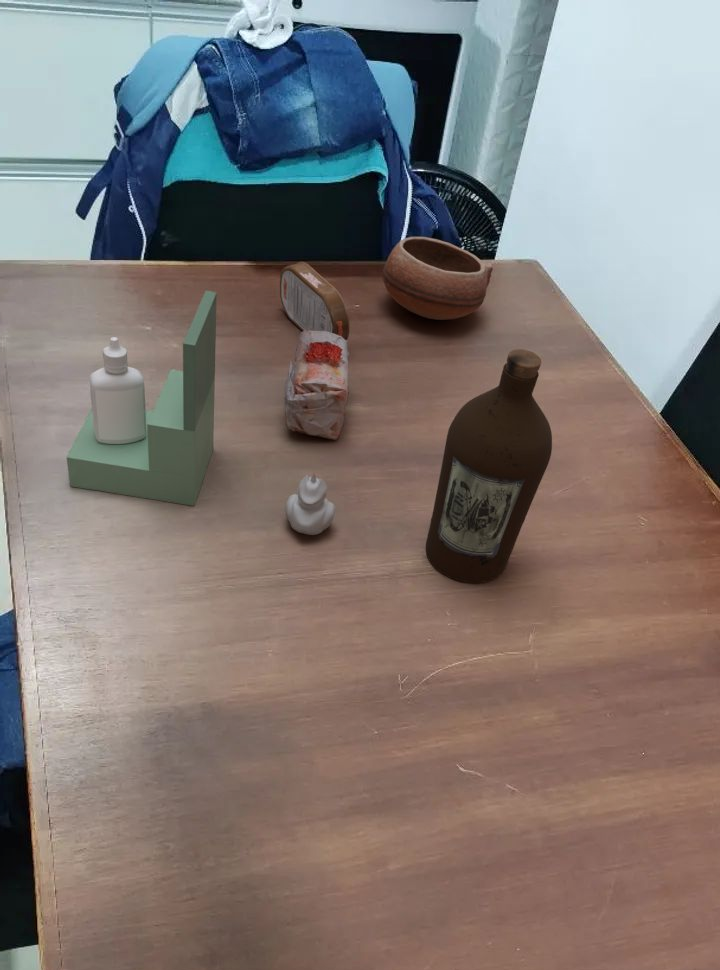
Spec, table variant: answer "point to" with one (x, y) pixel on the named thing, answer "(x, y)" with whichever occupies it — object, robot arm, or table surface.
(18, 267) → the table surface
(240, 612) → the table surface
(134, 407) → the eye dropper bottle
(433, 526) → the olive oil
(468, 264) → the bowl
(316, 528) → the rubber duck
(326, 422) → the food item
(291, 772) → the table surface
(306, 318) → the tin
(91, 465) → the step shelf
